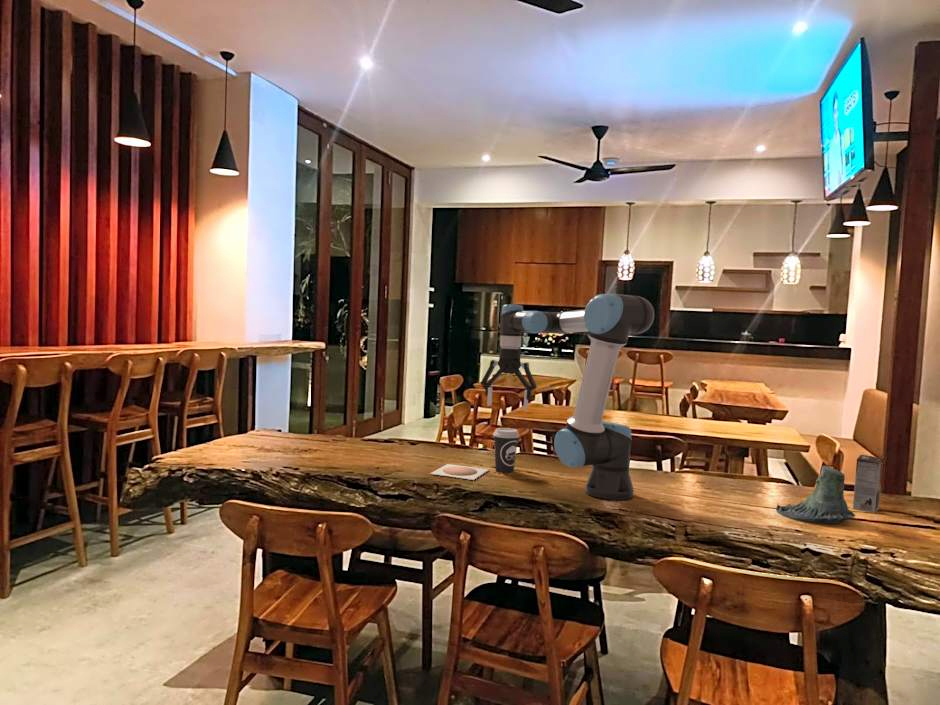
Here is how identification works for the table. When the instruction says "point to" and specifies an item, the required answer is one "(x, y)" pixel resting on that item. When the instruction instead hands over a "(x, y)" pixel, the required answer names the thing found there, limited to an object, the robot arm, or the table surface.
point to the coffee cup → (505, 449)
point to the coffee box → (868, 483)
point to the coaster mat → (460, 471)
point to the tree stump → (822, 501)
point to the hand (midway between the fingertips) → (507, 407)
